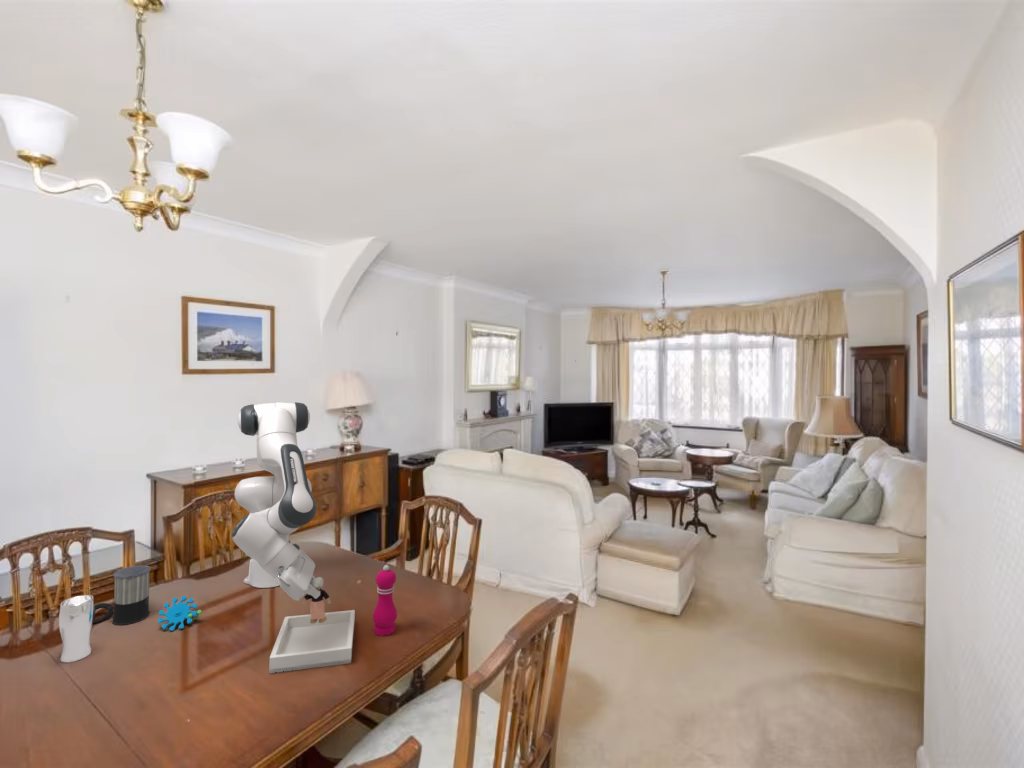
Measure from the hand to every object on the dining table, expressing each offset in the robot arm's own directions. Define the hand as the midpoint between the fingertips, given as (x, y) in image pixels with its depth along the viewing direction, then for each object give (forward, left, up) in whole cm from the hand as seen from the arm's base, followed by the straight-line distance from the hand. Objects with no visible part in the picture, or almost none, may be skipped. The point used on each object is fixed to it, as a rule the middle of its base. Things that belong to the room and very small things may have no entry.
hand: (319, 592), depth 136 cm
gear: (-21, -42, -15) cm, 49 cm away
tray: (0, -1, -15) cm, 15 cm away
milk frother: (-30, -61, -15) cm, 70 cm away
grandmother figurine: (-1, -1, -8) cm, 8 cm away
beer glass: (-9, -62, -15) cm, 64 cm away
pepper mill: (-4, +18, -15) cm, 24 cm away
